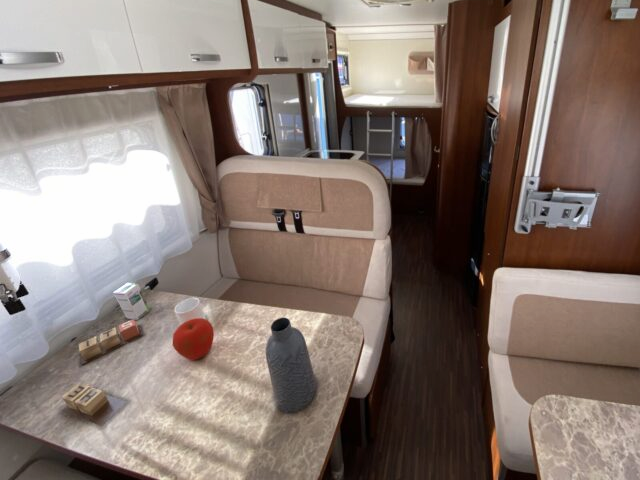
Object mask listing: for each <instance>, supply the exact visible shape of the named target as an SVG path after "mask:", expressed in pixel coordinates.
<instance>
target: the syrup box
mask: <svg viewBox="0 0 640 480" xmlns="http://www.w3.org/2000/svg"><path fill="white" fill-rule="evenodd" d="M113 295H114V297H115V299H116V300H117V303H118V304H119V307H120V308H121V311H122V312H123V314H124V316H125V318H126V319H129V320H132V319H134V320H135V321H136V320H140V319H141V318H142V317H143V316H145V315H146V314H147V313H148V312H149V311H150V310H151V308H150V307H149V305H148V303H147V300H146V298H145V296H144V293H143V292H142V290H141V287H140V285H139V284H138V283H135V282H126V283H125V284H124V285H122V286H120V287H119V288H118V289H116V290H114V291H113Z"/></svg>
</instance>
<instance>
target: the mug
mask: <svg viewBox="0 0 640 480" xmlns="http://www.w3.org/2000/svg"><path fill="white" fill-rule="evenodd" d="M173 311H174V313H175V316H176V318H177V320H178V323H179V326H180V325H182V324H183V323H184V322H186V321H188V320H191V319H195V318H203V319H206V320H207V318H206V315H205V312H204V310H203V307H202V304H201V302H200V299H199V298H198V297H189V298H186V299H183V300H181V301H179V303H177V304H176V305H175V307H174V310H173Z"/></svg>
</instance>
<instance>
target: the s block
mask: <svg viewBox="0 0 640 480" xmlns="http://www.w3.org/2000/svg"><path fill="white" fill-rule="evenodd" d="M137 326H138V325H137V322H136V319H129V320H128V321H125V322H123V323H121V324H119V325H118V328H119V334H121V335H122V337H123V338H124V340H127V339H129V338H132V337H134V336H136V335H138V334H139V330H138V327H137Z"/></svg>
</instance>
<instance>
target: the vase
mask: <svg viewBox="0 0 640 480" xmlns="http://www.w3.org/2000/svg"><path fill="white" fill-rule="evenodd" d="M270 332H271V334H270V336H269V338H268V339H267V342H266V344H265V360H266V364H267V369H268V375H269V378H270V382H271V386H272V391H273V395H274V400H275V404H276V406H277V407H278V408H279V409H280V410H281V411H282V412H285V413H290V414H291V413H296V412H299V411H302V410H303V409H305V408H306V407H307V406H308V405H310V403H311V402H312V401H313V399H314V397H315V395H316V391H317V380H316V377H315V374H314V369H313V364H312V361H311V357H310V354H309V350H308V345H307V342H306V339H305V337H304V335H303V333H302V332H301V330H299V329H298V328H297V327H294V326H292V323H291V320H290V319H289V318H287V317H280V318H277V319H275V320H274V321H273V322H272V323H271V325H270Z"/></svg>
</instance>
